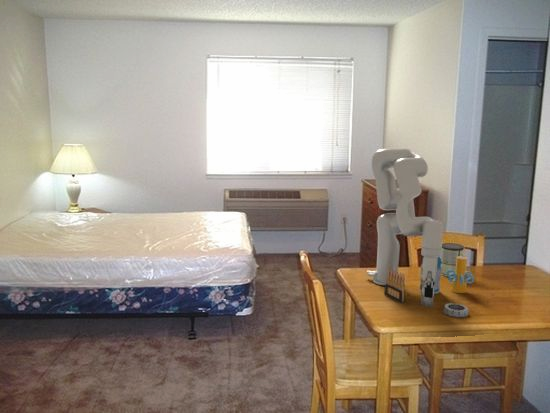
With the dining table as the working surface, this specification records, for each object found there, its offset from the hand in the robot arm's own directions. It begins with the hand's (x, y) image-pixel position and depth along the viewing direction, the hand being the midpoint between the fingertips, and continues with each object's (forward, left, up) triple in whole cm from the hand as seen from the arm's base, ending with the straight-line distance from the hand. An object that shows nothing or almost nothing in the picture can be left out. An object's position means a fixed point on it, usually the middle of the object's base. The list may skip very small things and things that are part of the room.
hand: (429, 293), depth 203 cm
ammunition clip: (-14, +3, -5) cm, 15 cm away
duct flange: (+10, -4, -5) cm, 12 cm away
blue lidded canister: (-1, +18, -5) cm, 18 cm away
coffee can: (+7, +47, -5) cm, 47 cm away
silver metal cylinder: (-1, +1, -5) cm, 5 cm away
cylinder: (+11, +23, -5) cm, 26 cm away
